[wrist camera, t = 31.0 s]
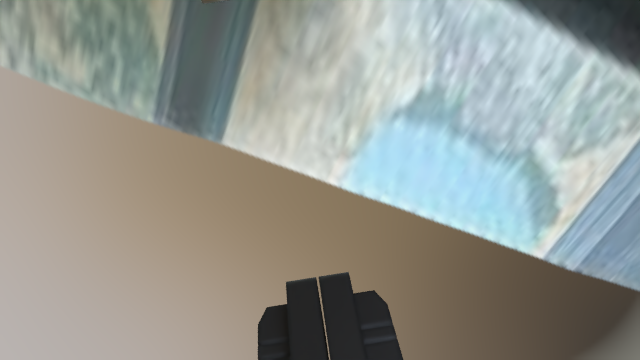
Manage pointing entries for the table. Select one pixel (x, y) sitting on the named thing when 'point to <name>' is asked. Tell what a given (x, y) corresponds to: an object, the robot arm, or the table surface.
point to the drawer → (211, 1)
